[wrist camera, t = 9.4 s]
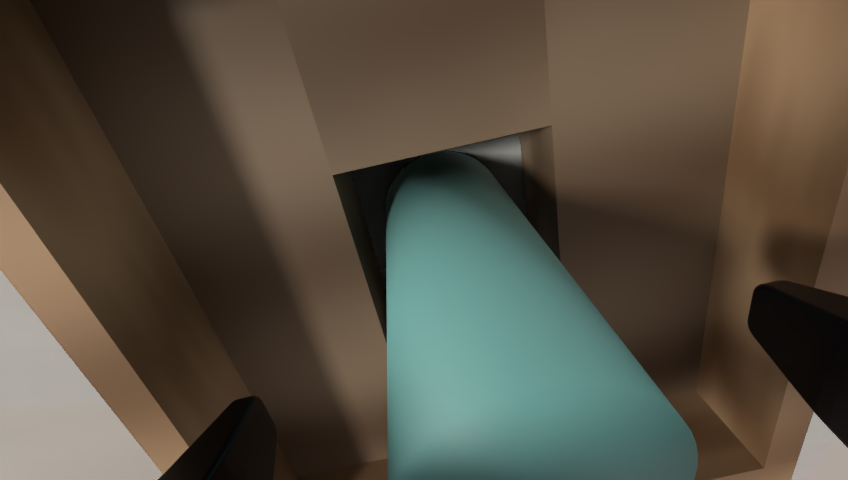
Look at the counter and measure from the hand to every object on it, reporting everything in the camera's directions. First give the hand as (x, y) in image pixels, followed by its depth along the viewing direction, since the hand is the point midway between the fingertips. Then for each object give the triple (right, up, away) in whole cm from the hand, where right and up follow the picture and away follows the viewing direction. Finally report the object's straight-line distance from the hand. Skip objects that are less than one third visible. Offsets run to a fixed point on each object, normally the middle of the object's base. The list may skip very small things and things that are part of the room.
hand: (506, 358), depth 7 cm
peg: (-1, +3, +7) cm, 8 cm away
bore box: (-1, +3, +7) cm, 8 cm away
